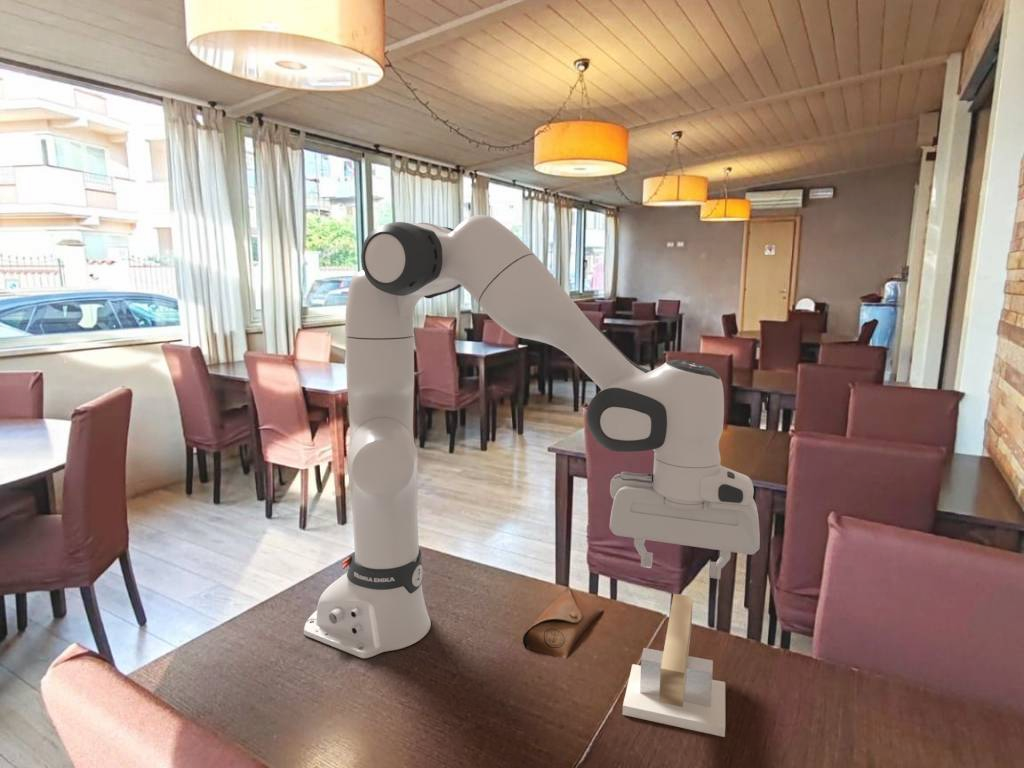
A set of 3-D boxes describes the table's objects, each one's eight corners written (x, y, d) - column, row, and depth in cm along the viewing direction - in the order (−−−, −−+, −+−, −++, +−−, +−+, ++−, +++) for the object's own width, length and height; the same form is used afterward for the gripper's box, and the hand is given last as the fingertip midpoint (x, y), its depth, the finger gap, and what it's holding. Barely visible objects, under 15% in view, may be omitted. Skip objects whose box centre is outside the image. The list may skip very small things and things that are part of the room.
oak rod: (659, 702, 82) (660, 668, 81) (672, 621, 100) (673, 593, 100) (682, 707, 81) (684, 672, 80) (691, 625, 99) (692, 596, 99)
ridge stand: (622, 714, 90) (623, 671, 88) (632, 672, 99) (633, 632, 98) (724, 737, 85) (727, 691, 84) (724, 690, 94) (727, 649, 93)
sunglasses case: (567, 661, 102) (549, 623, 102) (534, 669, 105) (517, 633, 106) (605, 608, 117) (589, 576, 118) (575, 617, 121) (560, 586, 121)
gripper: (606, 476, 86) (603, 569, 88) (765, 494, 79) (756, 594, 82) (614, 463, 92) (611, 550, 94) (762, 479, 85) (754, 572, 88)
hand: (680, 571), depth 88 cm, fingers open, 8 cm apart
